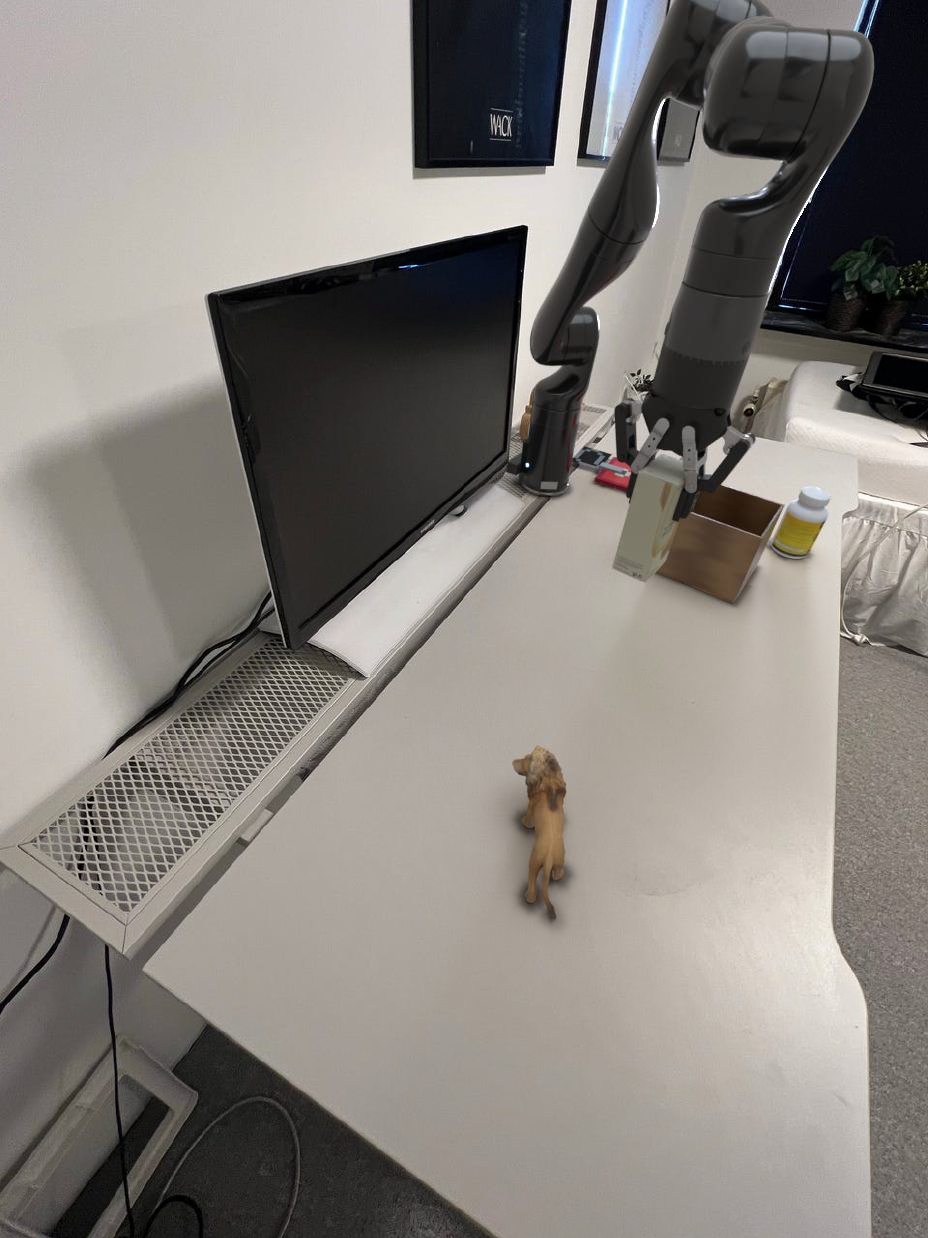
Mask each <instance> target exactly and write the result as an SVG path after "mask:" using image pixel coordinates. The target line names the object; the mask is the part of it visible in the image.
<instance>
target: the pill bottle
mask: <svg viewBox="0 0 928 1238" xmlns="http://www.w3.org/2000/svg"><path fill="white" fill-rule="evenodd" d="M831 499H832V495H831V494H830V492H829V491H827V490H825V489H823V488H821V487H817V486H813V485H812V486H807V485H806V486H804V487H802V488H801V490H800V492H799V493H798V499H793V500H792V501H790V502H789V503H788V505H787V506H786V508H785V511H784V513H783V515H782V517H781V519H780V522H779V524H778V526H777V529H776V531H775V533H774V535H773V537H772V540H771V541H770V545H771V549H772V550H773V551H774V552H776V553H777V554H778V555H780V556H782V557H785V558H788V559H793V560H801V559H804V558H807V556H808V555H809V554H810V552H811V550H812V548H813V546H814V545H815V543H816V540H817V538H818V536H819V535H820V533H821V531H822V529H823V527H824V525H825V524H826V522H827V520H828V518H829V511H828V509H827V507H826V506H828V504H829V503H830V501H831Z"/></svg>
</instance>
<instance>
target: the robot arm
mask: <svg viewBox="0 0 928 1238" xmlns="http://www.w3.org/2000/svg"><path fill="white" fill-rule="evenodd" d="M874 57H875V56H874V51H873V45H872V43H871V42H870V39H869V38H868V37H867V36H866V35H865V34H863V33H862V32H860V31H856V30H852V29H841V28H823V27H806V26H805V27H804V26H803V27H801V26H795V25H794V24H792V23H791V22H788V21H786V20H784V19H780V18H777V17H776V16H775V15H774V14H773V12H772V10H770V8H769V6H767V5H766V4H765V3H764V2H762V1H761V0H673V1H672V3H671V6H670V7H669V10H668V11H667V14H666V17H665V19H664V21H663V23H662V26H661V28H660V31H659V34H658V36H657V39H656V40H655V43H654V46H653V49H652V52H651V53H650V57H649V59H648V62H647V64H646V67H645V70H644V72H643V75H642V78H641V81H640V83H639V86H638V89H637V91H636V94H635V97H634V99H633V102H632V104H631V107H630V110H629V113H628V115H627V118H626V120H625V122H624V126H623V128H622V130H621V133H620V135H619V138H618V140H617V143H616V145H615V147H614V150H613V152H612V154H611V156H610V158H609V160H608V162H607V165H606V167H605V169H604V170H603V173H602V175H601V178H600V180H599V182H598V184H597V186H596V188H595V191H594V192H593V194H592V196H591V198H590V201H589V203H588V206H587V208H586V211H585V213H584V215H583V217H582V220H581V222H580V224H579V227H578V230H577V232H576V235H575V238H574V240H573V242H572V244H571V247H570V249H569V252H568V254H567V256H566V258H565V261H564V262H563V265H562V267H561V269H560V270H559V273H558V276H557V277H556V279H555V280H554V282H553V284H552V286H551V288H550V290H549V291H548V293H547V295H546V297H545V299H543V301H542V303H541V305H540V308H539V309H538V311H537V313H536V315H535V318H534V320H533V323H532V327H531V329H530V336H529V351H530V355H531V358H532V359H533V360H534V362H536V363H537V364H538V365H541V366H544V367H559V368H558V369H557V370H556V371H555V372H553V373H552V374H551V375H549V376H546V377H545V378H542V379H541V380H539V381H538V382H536V384H535V386H534V388H533V392H532V401H531V402H532V403H531V408H530V417H529V426H528V434H527V437H525V438H524V439H522V448H521V452H520V453H517V454H516V455H515V456H513V457H512V458H510V459H509V460H507V461H508V465H507V469H506V468H505V472H506V473H508V474H510V475H513V476H518V480H517V484H518V485H520V486H522V488H523V489H524V490H525V491H527V492H528V493H530V494H532V495H536V496H538V497H539V496H540V497H550V498H551V497H557V496H558V497H559V496H561V495H563V494H565V493H566V492H567V491H568V489H569V482H570V475H571V470H572V465H573V461H572V459H573V457H574V454H575V447H576V442H577V435H578V432H579V431H578V430H579V424H580V420H581V414H582V408H583V405H584V399H585V396H586V395H587V392H588V390H589V387H590V382H591V378H592V374H593V368H594V365H595V362H596V361H595V360H596V357H597V352H598V348H599V344H600V343H599V342H600V341H599V340H600V335H601V334H600V329H601V328H600V327H601V326H600V319H599V316H598V313H597V311H596V310H595V309H594V308H593V307H592V306H586V304H587V303H588V302H589V301H591V299H593V298H595V297H596V296H597V295H598V294H600V293H601V292H602V291H604V290H605V289H607V288H608V287H609V286H611V285H612V284H613V283H614V282H615V281H616V280H618V279H619V278H620V277H621V276H622V275H624V273H626V271H627V270H628V269H629V268H630V267H631V266H632V264H633V263H634V262H635V260H636V259H637V257H638V255H639V254H640V252H641V250H642V248H643V246H644V245H645V243H646V241H647V239H648V237H649V236H650V234H651V232H652V230H653V228H654V226H655V224H656V221H657V219H658V214H659V208H660V206H659V205H660V186H659V172H658V163H657V162H658V161H657V159H658V158H657V141H658V138H657V137H658V128H659V127H658V126H659V119H660V111H661V109H662V107H663V105H664V102H665V101H666V100H667V99H672V100H673V101H675V102H677V103H680V104H682V105H684V106H687V107H688V108H692V109H694V110H698V111H699V112H701V133H702V134H701V135H702V138H703V142H704V145H705V146H706V148H707V149H708V150H710V152H712V153H714V154H716V155H718V156H721V157H726V158H733V159H742V160H743V159H744V160H745V159H748V160H749V159H750V160H758V161H759V160H760V161H773V162H781V164H780V167H779V168H778V170H777V171H776V172H775V173H774V175H773V176H772V177H771V178H770V179H769V181H768V182H767V183H765V184H764V186H763V187H761V188H760V189H758V190H756V191H753V192H750V193H747V194H741V195H734V196H729V197H723V198H719V199H716V200H713V201H711V202H709V203H708V204H707V205H706V206H705V207H704V208H703V210H702V211H701V213H700V215H699V218H698V220H697V224H696V228H695V232H694V234H693V238H692V243H691V246H690V250H689V254H688V257H687V262H686V266H685V269H684V271H683V272H684V273H683V276H682V281H681V284H680V287H679V290H678V293H677V295H676V297H675V300H674V302H673V305H672V308H671V311H670V315H669V318H668V321H667V323H666V325H665V329H664V334H663V335H664V338H663V341H662V345H661V349H660V352H659V356H658V360H657V363H656V364H657V365H656V368H655V372H654V376H653V380H652V383H651V387H650V392H649V394H648V396H647V397H646V398H645V399H644V400H635V399H634V398H632V397H628V398H626V399H624V400H622V401H621V402H619V403H618V404H617V405H615V407H614V410H613V411H614V413H613V414H614V432H615V434H614V435H615V454H616V458H617V460H618V461H619V462H621V463H624V462H625V463H626V464H627V465H628V466H629V467H630V468H631V475H630V479H629V483H628V487H627V491H626V492H625V498H627V499H629V500H628V504H629V505H630V501H631V498H632V494H633V491H634V487H635V483H636V480H637V476H638V473H639V471H640V470H642V469H643V468H644V467H645V466H647V465H648V464H649V463H650V462H651V461H652V460H653V458H654V457H655V455H656V456H657V454H658V453H659V451H664V452H665V451H667V452H672V453H674V454H675V455H677V456H679V457H683V470H684V471H685V487H684V488H683V489H682V490H681V493H680V496H679V499H678V503H677V506H676V509H675V512H674V515H673V518H672V520H673V521H676V522H680V520H681V519H682V518H683V519H686V518H687V517H688V515H689V514H690V513H691V512H692V511H693V509H694V506H695V504H696V501H697V498H698V495H699V492H700V491H706V492H708V493H713V492H715V491H716V490H717V489H718V487H719V486H720V485H721V484H723V483H724V482H725V481H726V479H727V478H728V477H729V476H730V475H731V473H732V472H733V471H734V469H735V468H736V467H737V466H738V464H739V463H740V462H741V461H742V459H743V458H744V457H745V455H746V454H747V453H748V452H749V451H750V450H751V448H752V447H753V445H754V444H755V443H756V441H757V439H756V436H755V435H754V434H753V433H751V432H748V433H743V432H741V431H740V430H738V429H737V428H735V427H733V426H732V417H731V410H732V406H733V404H734V401H735V398H736V395H737V393H738V389H739V387H740V384H741V381H742V378H743V375H744V373H745V370H746V367H747V364H748V362H749V359H750V356H751V353H752V350H753V348H754V345H755V342H756V339H757V336H758V334H759V331H760V329H761V325H762V322H763V318H764V313H765V308H766V305H767V300H768V296H769V293H770V290H771V287H772V284H773V282H774V279H775V276H776V273H777V270H778V267H779V265H780V262H781V259H782V255H783V254H784V252H785V248H786V245H787V243H788V240H789V238H790V236H791V234H792V232H793V229H794V227H795V226H796V224H797V222H798V220H799V218H800V216H801V215H802V213H803V211H804V208H806V206H807V204H808V202H809V201H810V198H811V197H812V195H813V193H814V191H815V189H816V188H817V187H818V185H819V183H820V181H821V179H822V178H823V176H824V175H825V173H826V171H827V170H828V168H829V166H830V165H831V164H832V162H833V160H834V159H835V158H836V156H837V154H838V153H839V152H840V150H841V148H842V146H843V145H844V143H845V142H846V140H847V138H848V137H849V135H850V133H851V132H852V131H853V128H854V126H855V125H856V123H857V121H858V120H859V118H860V116H861V115H862V112H863V110H864V107H865V106H866V103H867V100H868V98H869V94H870V91H871V89H872V84H873V79H874V71H875V58H874ZM641 414H642V417H643V420H644V423H645V425H646V428H647V431H648V434H649V435H648V436H647V438H646V440H645V441H644V443H643V444H642V446H641V447H640V449H639V450H638V442H637V441H638V439H637V437H638V436H637V422H638V421H639V420H640V419H641ZM721 438H723V440H724V444H723V446H722V452H723V454H724V455H726V456H725V457H724V459H723V460H722V461H721V462H720V464H719V465H718V466H717V467H716V468H715V470H714V471H713V472H712V474H710V473H709V474H706V464H707V460H708V447H709V446H711V445H712V444H713V443H715V442H717V441H718V440H719V439H721ZM655 458H656V457H655Z"/></svg>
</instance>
